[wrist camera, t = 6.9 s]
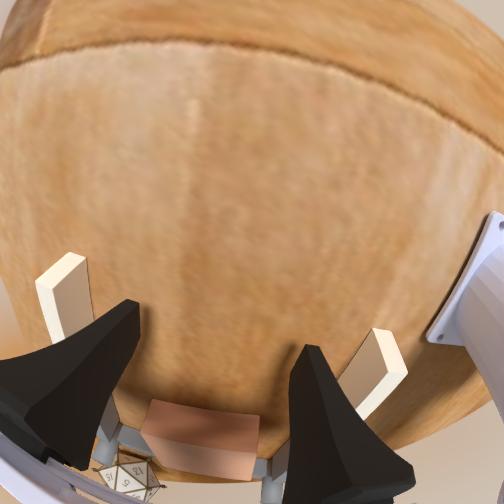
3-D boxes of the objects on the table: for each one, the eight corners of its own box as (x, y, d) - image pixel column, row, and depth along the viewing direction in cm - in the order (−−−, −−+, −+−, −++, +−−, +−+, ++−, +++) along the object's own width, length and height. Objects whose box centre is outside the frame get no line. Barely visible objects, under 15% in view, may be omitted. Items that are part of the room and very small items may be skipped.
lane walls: (390, 331, 13) (408, 372, 10) (318, 423, 17) (321, 456, 15) (69, 251, 12) (34, 281, 9) (92, 368, 17) (75, 397, 14)
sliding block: (260, 411, 17) (257, 453, 14) (253, 449, 21) (250, 480, 18) (153, 395, 18) (139, 432, 15) (170, 437, 21) (162, 466, 18)
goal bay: (323, 423, 17) (327, 480, 13) (279, 465, 22) (278, 505, 18) (87, 366, 17) (59, 415, 12) (109, 424, 21) (94, 460, 17)
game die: (157, 438, 29) (189, 500, 23) (119, 453, 29) (145, 510, 22) (110, 436, 22) (145, 514, 16) (73, 451, 21) (100, 519, 15)
